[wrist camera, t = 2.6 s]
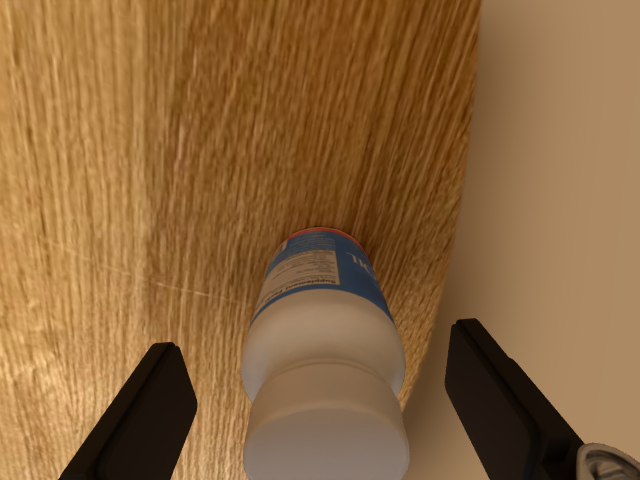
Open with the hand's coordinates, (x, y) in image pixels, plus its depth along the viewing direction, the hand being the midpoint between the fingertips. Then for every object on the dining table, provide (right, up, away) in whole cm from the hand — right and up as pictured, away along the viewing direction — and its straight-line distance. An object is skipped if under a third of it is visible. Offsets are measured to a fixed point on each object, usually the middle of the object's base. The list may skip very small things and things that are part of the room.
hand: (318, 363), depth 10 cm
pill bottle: (0, +3, +6) cm, 7 cm away
